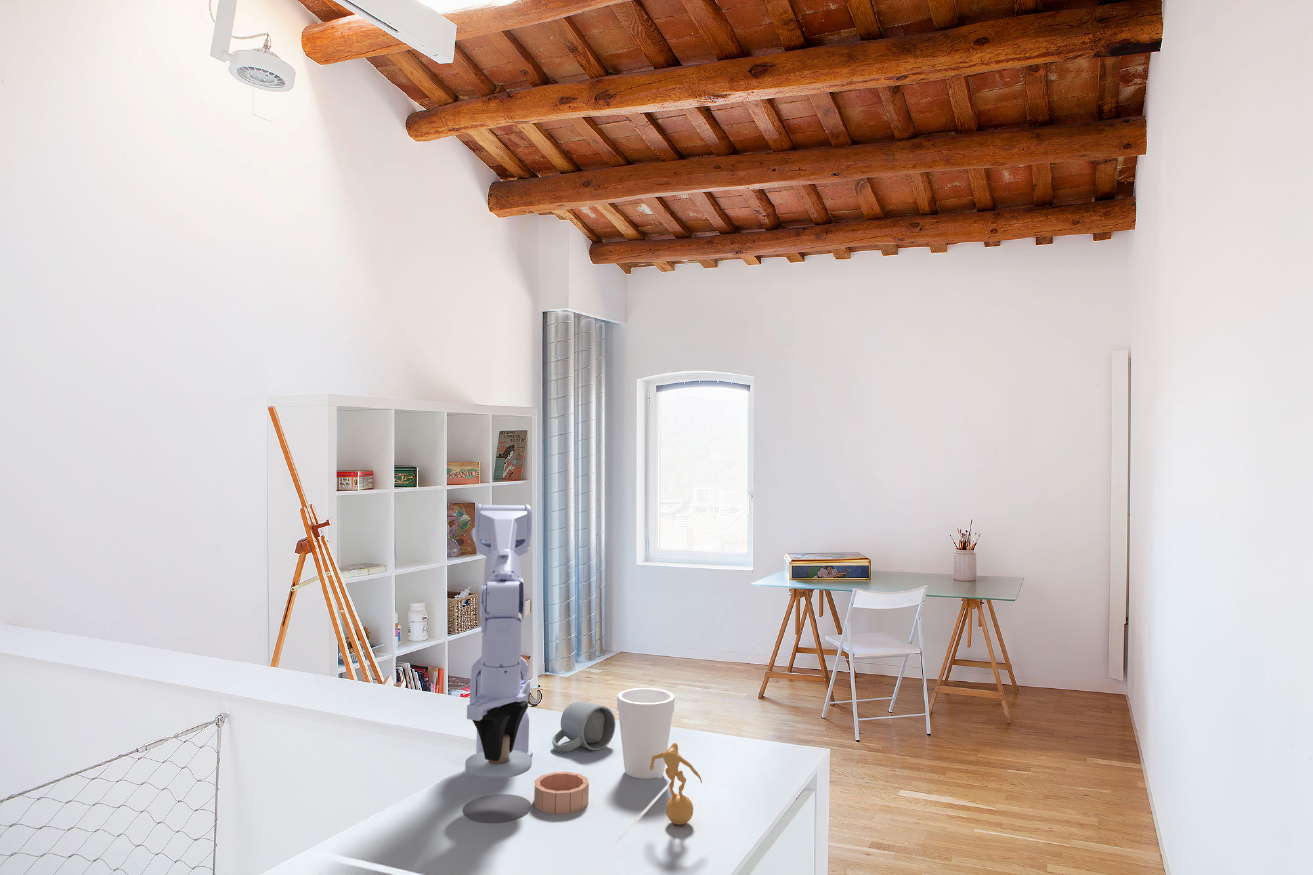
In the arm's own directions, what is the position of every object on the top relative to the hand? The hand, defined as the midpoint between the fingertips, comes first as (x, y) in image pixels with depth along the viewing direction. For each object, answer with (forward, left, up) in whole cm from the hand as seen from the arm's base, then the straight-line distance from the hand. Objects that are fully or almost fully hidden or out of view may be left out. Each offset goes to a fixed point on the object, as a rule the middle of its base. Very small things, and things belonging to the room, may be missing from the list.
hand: (498, 755), depth 120 cm
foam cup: (-22, +15, -8) cm, 28 cm away
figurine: (-6, +26, -8) cm, 28 cm away
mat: (0, 0, -8) cm, 8 cm away
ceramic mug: (-30, -1, -8) cm, 31 cm away
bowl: (-6, +8, -8) cm, 12 cm away
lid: (0, 0, -2) cm, 2 cm away
